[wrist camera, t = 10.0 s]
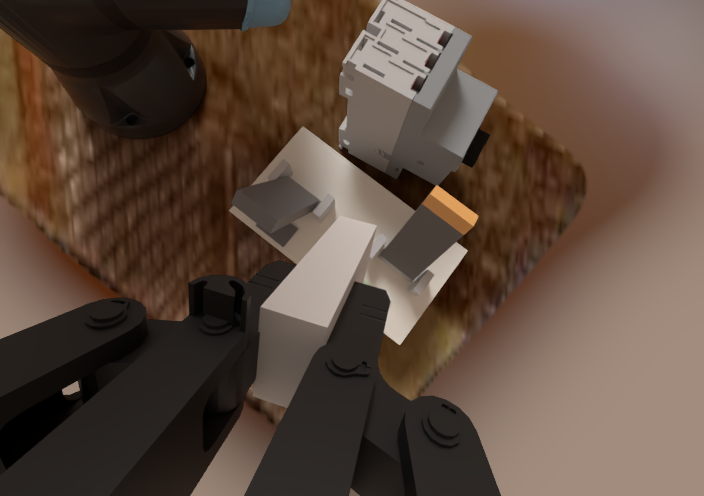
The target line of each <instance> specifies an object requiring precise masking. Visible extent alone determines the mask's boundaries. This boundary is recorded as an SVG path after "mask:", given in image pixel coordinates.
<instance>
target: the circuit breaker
mask: <svg viewBox="0 0 704 496" xmlns="http://www.w3.org/2000/svg"><path fill="white" fill-rule="evenodd" d="M471 40H472V36H471V35H469V34H467V33H465V32H464V31H462V30H460V29H458V28H456V27H454V26H452V25H450V24H448V23H447V22H445V21H443V20H441V19H439V18H437V17H435V16H433V15H431V14H430V13H428V12H426V11H424V10H422V9H420V8H418V7H416V6H414V5H412V4H410V3H408V2H407V1H405V0H397V1H396V0H382V1H381V3H380V4H379V6H378V7H377V9H376V11H375V12H374V14H373V15H372V17H371V18H370V20H369V22H368V25H367V28H366V31H364V30H363V31H362V33H361V34H360V36H359V37H358V39H357V40H356V42H355V44H354V45H353V47H352V48H351V50H350V51H349V53H348V55H347V56H346V58H345V59H344V61H343V63H342V66H343V71H342V72H341V74H340V78H339V94H340V95H342V96H344V97H346V98H348V108H347V116H346V118H345V120H344V121H343V123H342V124H341V126H340V128H339V142H340V145H339V148H340V149H342V148H343V147H344V148H346V149H348V153H349V154H351V155H353V156H355V157H357V158H358V159H360V160H362V161H364V162H366V163H367V164H369V165H371V166H373V167H375V168H377V169H378V170H380V171H382V172H384V173H386V174H388V175H389V176H391V177H393V178H395V179H397V178H398V176H399V174H400V172H401V171H402V169H403V168H404V169H406V170H408V171H410V172H412V173H414V174H415V175H417V176H419V177H421V178H423V179H425V180H426V181H428V182H430V183H432V184H434V185H439V184H440V183H441V182H442V181H443V180H444V179H445V178H446V177H447V175H448V174H449V173H450V172H451V171H453V172H456V171H457V170H458V168H459V166H460V164H461V162H462V163H464V164H466V165H468V166H470V167H471V168H472V167H473V166H474V164H475V163H476V161H477V159H478V156H479V154H480V152H481V150H482V148H483V146H484V145H485V144H486V142H487V140H488V138H489V136H490V135H489V134H487V133H485V132H483V131H482V130H480V125H481V123H482V121H483V119H484V117H485V116H486V114H487V112H488V110H489V108H490V106H491V104H492V103H493V101H494V99H495V97H496V95H497V93H498V91H497V90H496V89H494V88H492V87H490V86H488V85H486V84H484V83H482V82H481V81H479V80H477V79H475V78H473V77H471V76H469V75H468V74H466V73H464V72H462V71H460V70H458V69H457V67H458V65H459V63H460V61H461V59H462V57H463V55H464V53H465V51H466V49H467V47H468V45H469V43H470V42H471Z"/></svg>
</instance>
